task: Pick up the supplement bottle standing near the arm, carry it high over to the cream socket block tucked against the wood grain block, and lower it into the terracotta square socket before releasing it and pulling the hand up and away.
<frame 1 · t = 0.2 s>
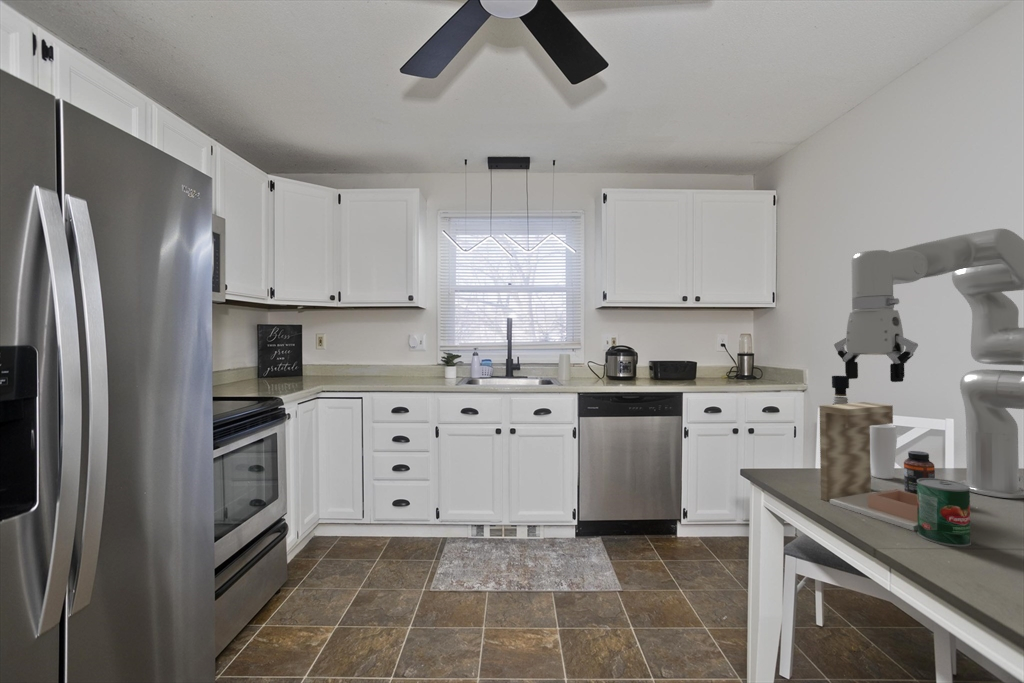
hand: (873, 380, 108), 31 cm above the table, tool pointing down, fingers open, 9 cm apart
wood grain block: (857, 499, 118), on the table
socket: (906, 515, 106), on the table
canned tomato: (943, 539, 94), on the table
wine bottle: (842, 485, 129), on the table
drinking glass: (882, 477, 136), on the table
supplement bottle: (919, 498, 119), on the table
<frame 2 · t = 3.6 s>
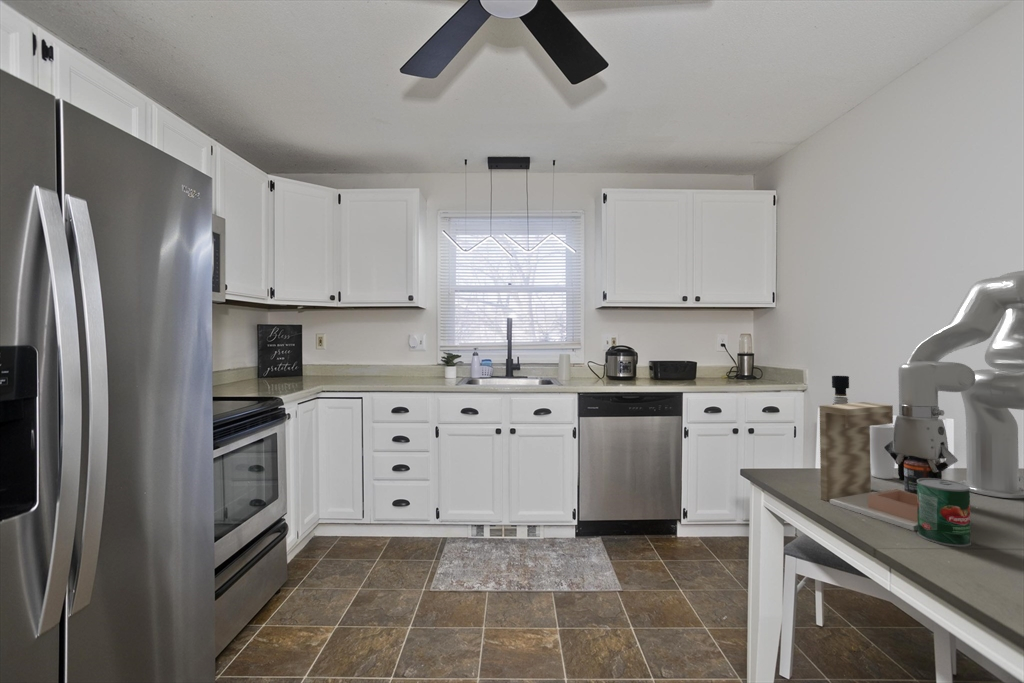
hand: (919, 482, 119), 4 cm above the table, tool pointing down, fingers closed on supplement bottle, 6 cm apart
supplement bottle: (919, 497, 119), on the table, touching gripper
everything else where it was.
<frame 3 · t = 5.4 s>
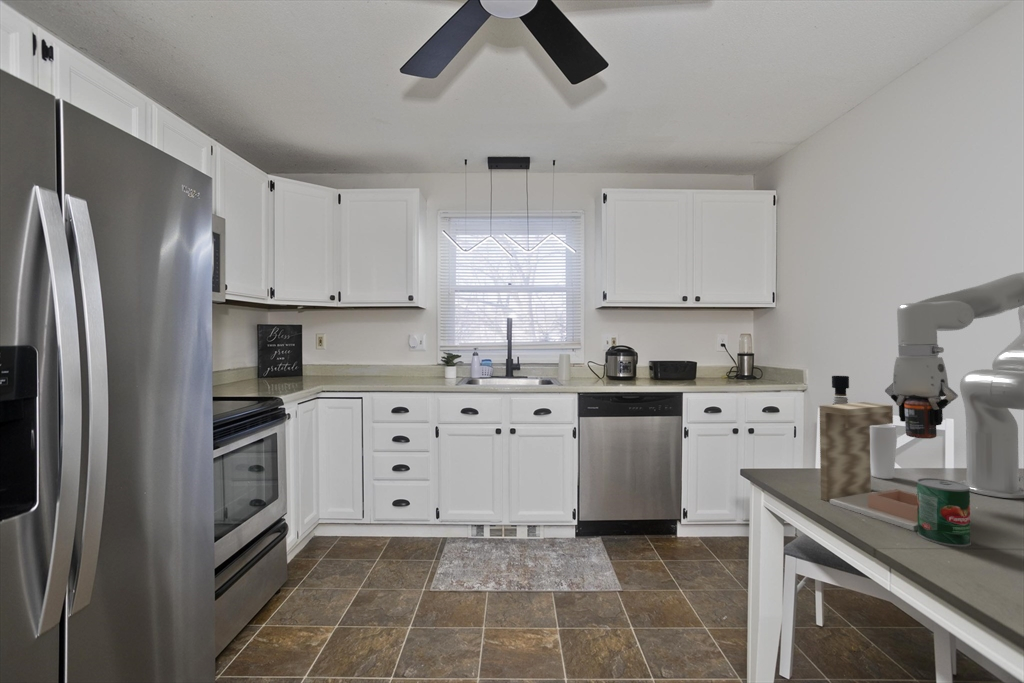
hand: (920, 422, 119), 19 cm above the table, tool pointing down, fingers closed on supplement bottle, 6 cm apart
supplement bottle: (920, 437, 119), point 15 cm above the table, touching gripper
everything else where it was.
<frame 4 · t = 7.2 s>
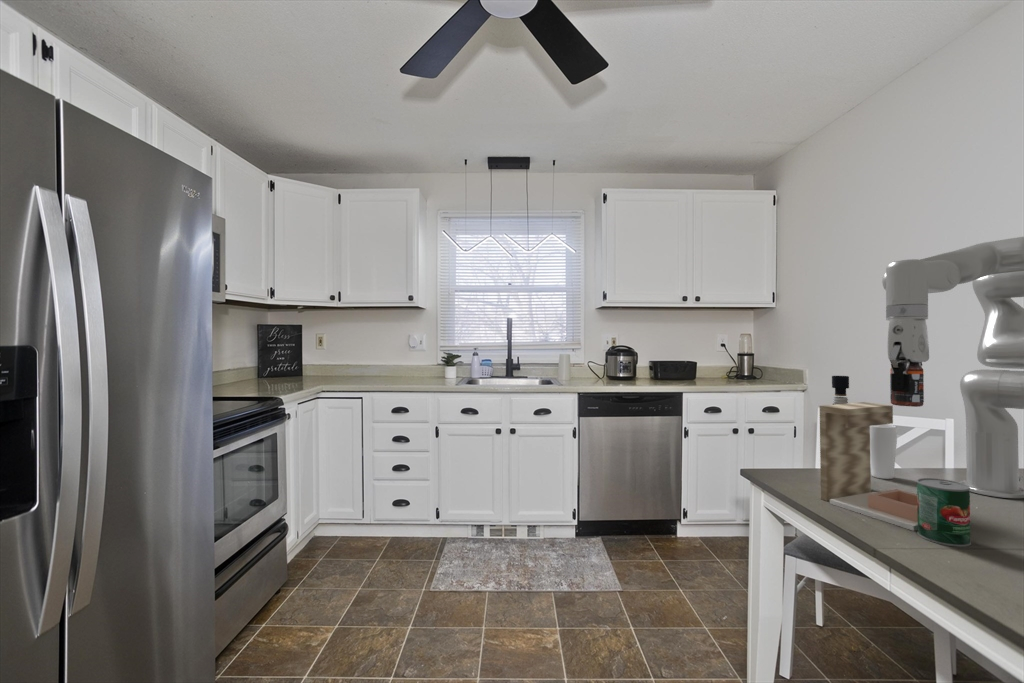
hand: (907, 390, 109), 28 cm above the table, tool pointing down, fingers closed on supplement bottle, 6 cm apart
supplement bottle: (906, 406, 110), point 24 cm above the table, touching gripper
everything else where it was.
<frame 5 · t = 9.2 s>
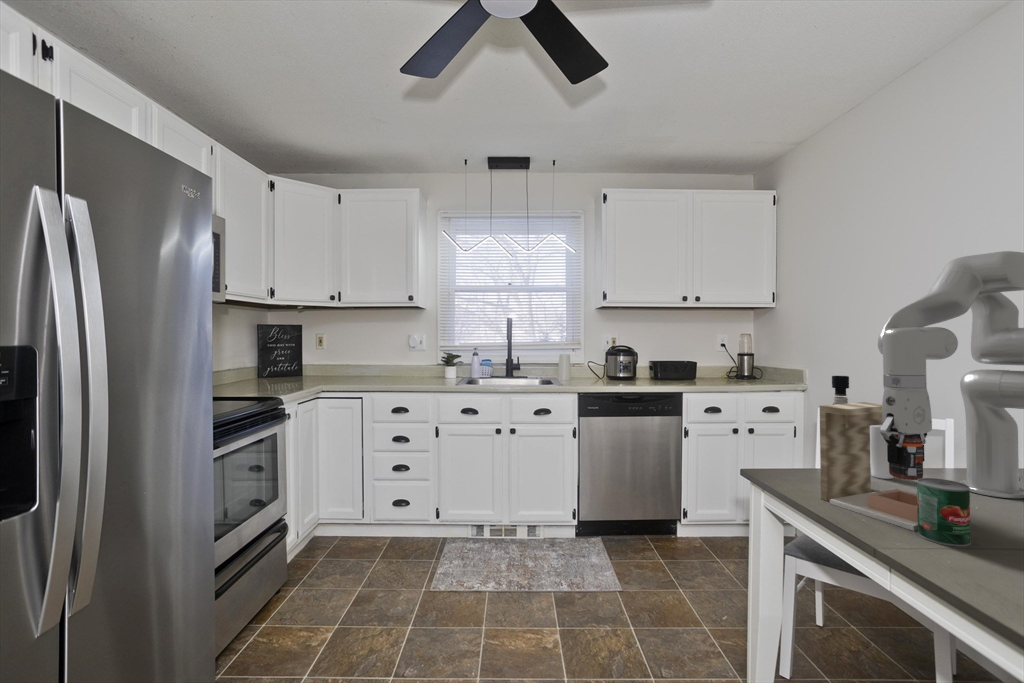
hand: (905, 461, 107), 12 cm above the table, tool pointing down, fingers closed on supplement bottle, 6 cm apart
supplement bottle: (906, 478, 107), point 8 cm above the table, touching gripper
everything else where it was.
when the fingers open (6 cm above the table, at t = 11.0 s): supplement bottle drops 1 cm, resting on socket.
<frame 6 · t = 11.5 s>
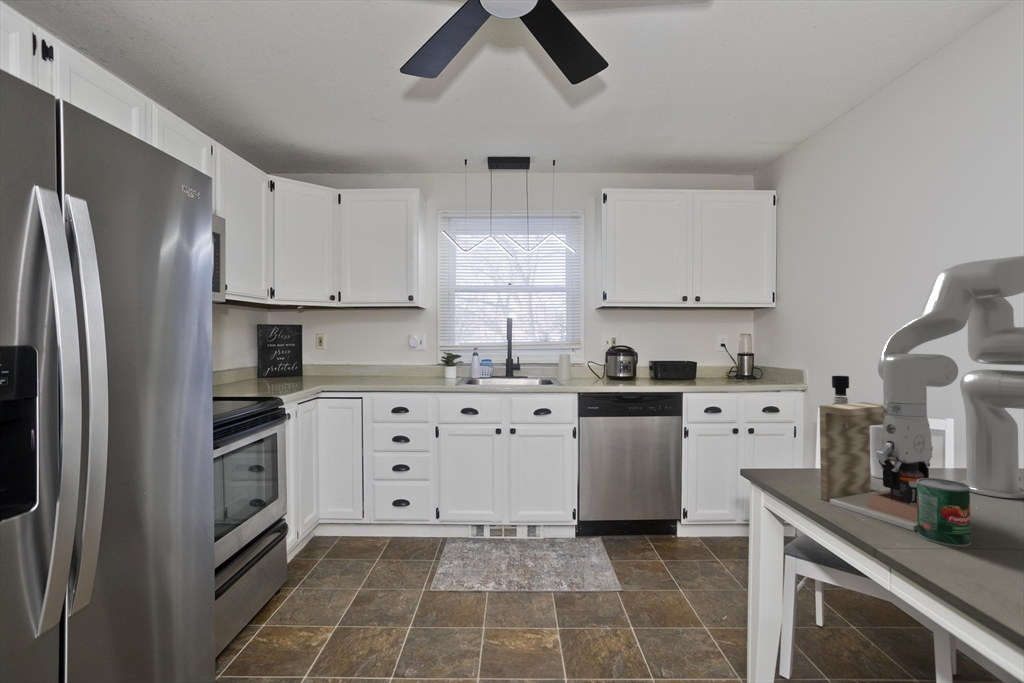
hand: (906, 485, 107), 7 cm above the table, tool pointing down, fingers open, 9 cm apart
supplement bottle: (907, 511, 107), point 1 cm above the table, touching socket
everything else where it was.
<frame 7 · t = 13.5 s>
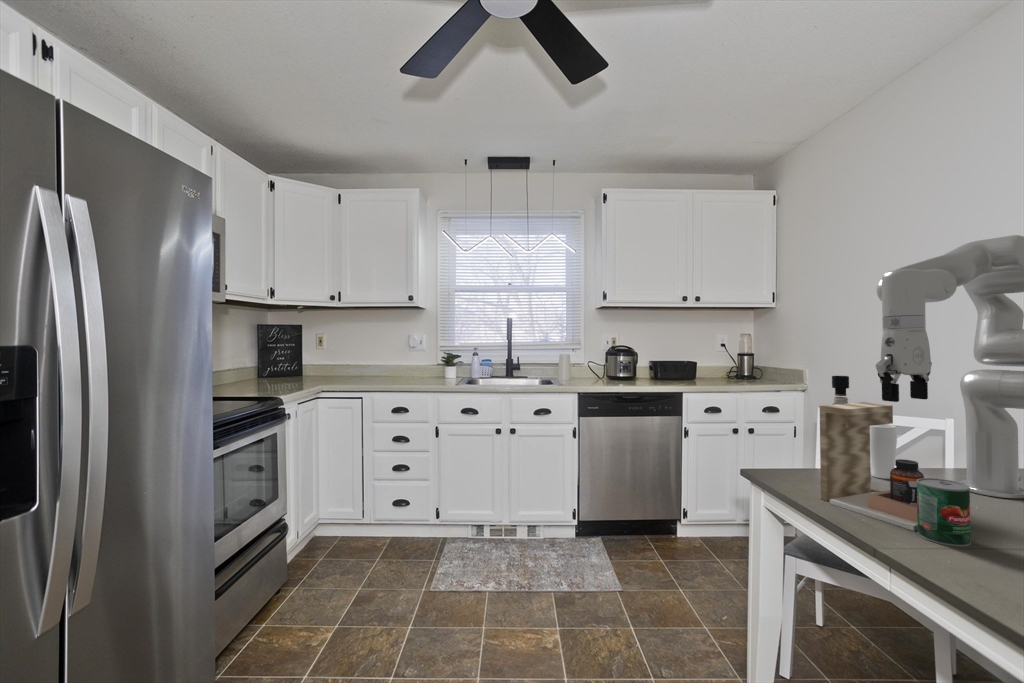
hand: (904, 399, 107), 26 cm above the table, tool pointing down, fingers open, 9 cm apart
nothing on the table moved.
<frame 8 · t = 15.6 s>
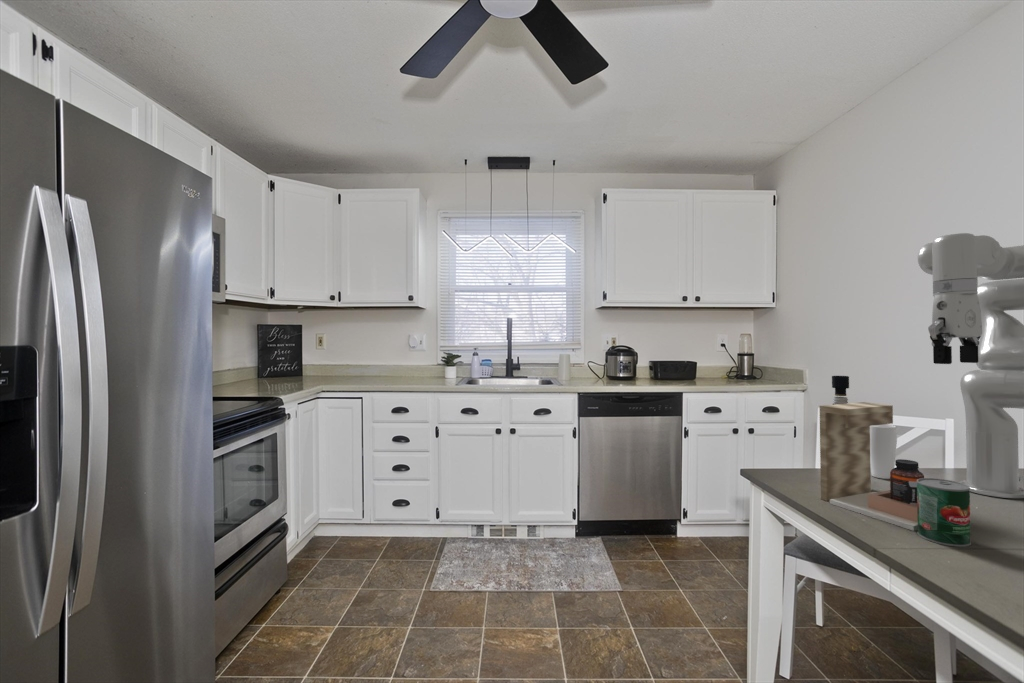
hand: (956, 363, 108), 34 cm above the table, tool pointing down, fingers open, 9 cm apart
nothing on the table moved.
at the end: supplement bottle 0.4 cm off-centre on the socket, point 0.8 cm above the socket's base; supplement bottle tilted 0°; the gripper is holding nothing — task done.
